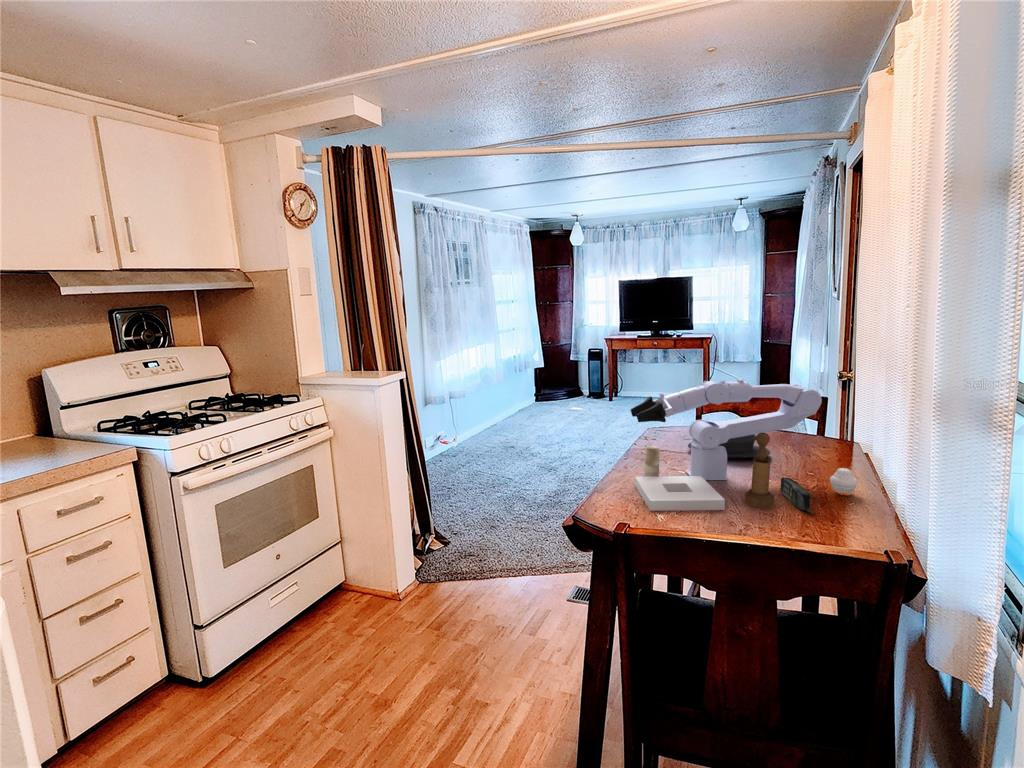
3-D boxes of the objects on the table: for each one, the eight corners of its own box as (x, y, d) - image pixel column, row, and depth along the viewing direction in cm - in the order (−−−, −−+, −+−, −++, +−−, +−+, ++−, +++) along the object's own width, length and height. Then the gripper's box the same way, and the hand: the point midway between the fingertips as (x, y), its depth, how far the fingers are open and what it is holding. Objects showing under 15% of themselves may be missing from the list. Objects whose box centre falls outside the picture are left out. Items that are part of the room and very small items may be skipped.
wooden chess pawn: (771, 510, 134) (775, 437, 131) (742, 505, 137) (746, 434, 135) (775, 501, 140) (779, 431, 137) (747, 496, 143) (751, 428, 140)
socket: (700, 484, 152) (700, 475, 152) (724, 509, 135) (724, 500, 134) (634, 485, 153) (635, 476, 152) (649, 510, 135) (650, 500, 135)
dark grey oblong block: (778, 475, 145) (804, 494, 130) (790, 475, 145) (818, 494, 130) (777, 494, 146) (803, 515, 131) (789, 494, 146) (817, 515, 131)
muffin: (842, 499, 140) (844, 472, 139) (823, 491, 146) (825, 465, 145) (862, 496, 142) (864, 470, 141) (842, 488, 148) (844, 463, 147)
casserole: (772, 451, 183) (773, 426, 182) (767, 467, 167) (768, 440, 165) (693, 443, 195) (694, 419, 194) (682, 456, 179) (682, 431, 178)
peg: (656, 475, 161) (657, 445, 159) (660, 480, 157) (661, 449, 155) (643, 476, 161) (643, 445, 159) (646, 480, 157) (646, 449, 155)
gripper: (670, 384, 163) (625, 397, 163) (685, 392, 148) (636, 407, 149) (676, 407, 163) (631, 420, 164) (692, 417, 149) (643, 431, 150)
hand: (634, 415), depth 157 cm, fingers open, 7 cm apart
